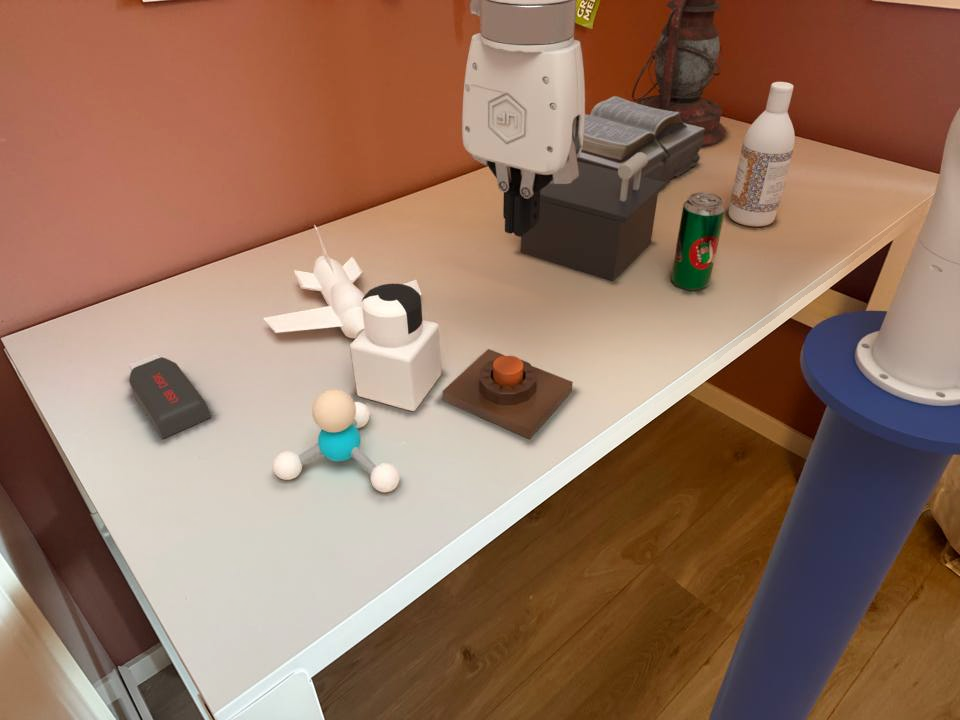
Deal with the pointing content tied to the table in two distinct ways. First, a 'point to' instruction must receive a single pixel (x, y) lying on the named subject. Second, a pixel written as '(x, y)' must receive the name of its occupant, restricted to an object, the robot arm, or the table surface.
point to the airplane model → (329, 298)
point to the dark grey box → (589, 239)
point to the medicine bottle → (395, 348)
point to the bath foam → (764, 161)
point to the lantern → (687, 66)
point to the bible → (640, 138)
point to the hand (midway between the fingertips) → (520, 228)
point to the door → (606, 190)
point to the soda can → (697, 240)
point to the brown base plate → (508, 395)
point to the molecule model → (338, 440)
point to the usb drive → (166, 395)
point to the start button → (508, 371)
